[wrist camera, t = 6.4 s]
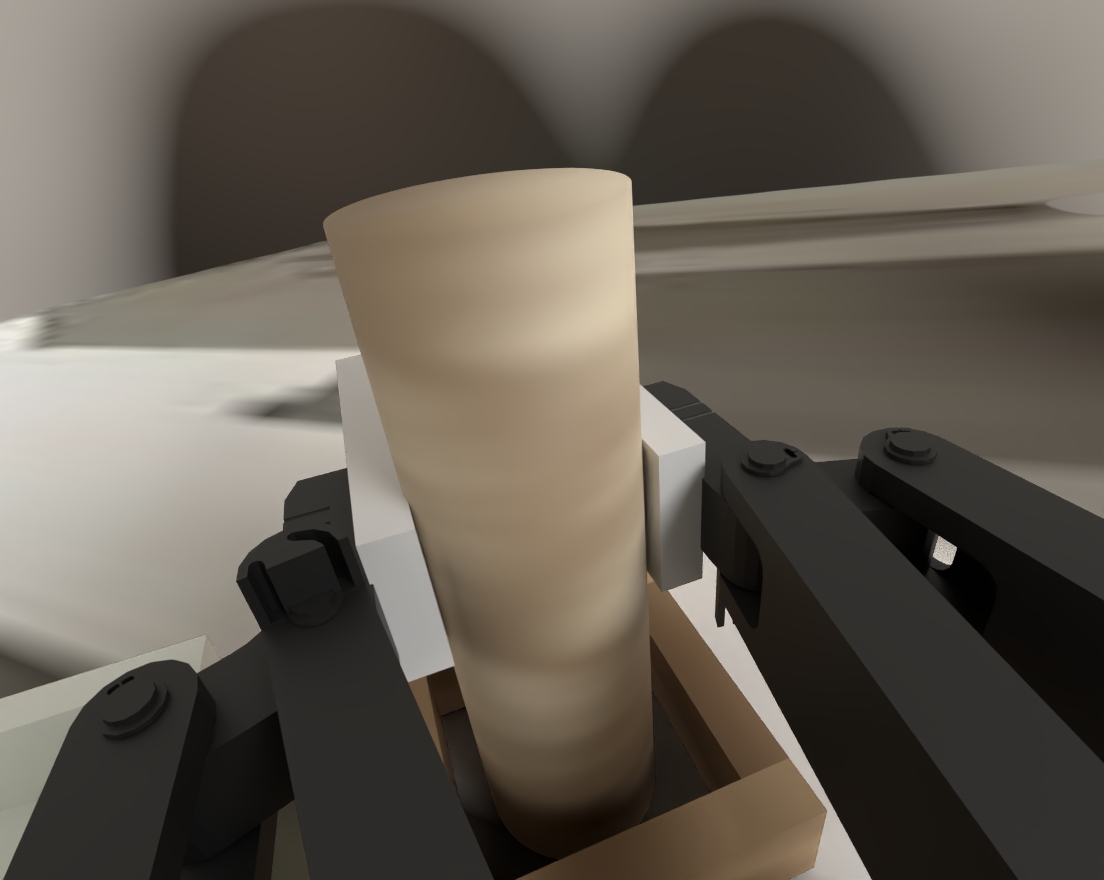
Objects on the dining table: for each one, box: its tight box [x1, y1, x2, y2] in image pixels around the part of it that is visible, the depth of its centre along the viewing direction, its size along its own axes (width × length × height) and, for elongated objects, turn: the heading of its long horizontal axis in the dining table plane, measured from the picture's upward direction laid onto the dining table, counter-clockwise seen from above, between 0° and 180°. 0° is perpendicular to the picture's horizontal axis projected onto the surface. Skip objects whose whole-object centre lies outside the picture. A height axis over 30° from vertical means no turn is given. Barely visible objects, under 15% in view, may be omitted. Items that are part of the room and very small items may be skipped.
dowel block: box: [408, 572, 827, 880], centre depth 13 cm, size 7×7×2 cm
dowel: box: [323, 168, 655, 859], centre depth 10 cm, size 4×4×12 cm
